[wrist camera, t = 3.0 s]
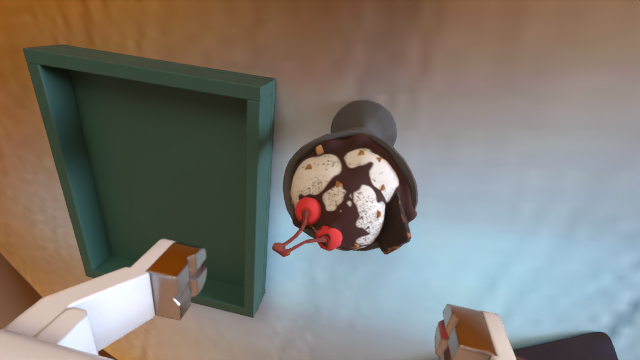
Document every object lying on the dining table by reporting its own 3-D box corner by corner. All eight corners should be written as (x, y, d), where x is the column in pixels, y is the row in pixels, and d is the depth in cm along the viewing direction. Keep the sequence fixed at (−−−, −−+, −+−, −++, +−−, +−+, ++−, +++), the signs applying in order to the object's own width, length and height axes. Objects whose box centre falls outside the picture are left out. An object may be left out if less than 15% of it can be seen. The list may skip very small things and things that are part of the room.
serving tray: (62, 44, 27) (22, 48, 24) (276, 78, 25) (261, 87, 22) (110, 255, 37) (86, 276, 34) (264, 292, 35) (253, 317, 32)
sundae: (303, 115, 26) (209, 222, 12) (383, 71, 23) (372, 146, 10) (344, 184, 28) (300, 341, 14) (422, 151, 25) (456, 303, 12)
